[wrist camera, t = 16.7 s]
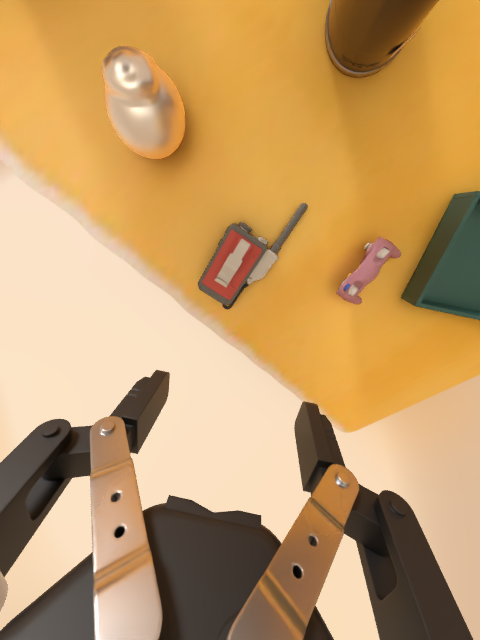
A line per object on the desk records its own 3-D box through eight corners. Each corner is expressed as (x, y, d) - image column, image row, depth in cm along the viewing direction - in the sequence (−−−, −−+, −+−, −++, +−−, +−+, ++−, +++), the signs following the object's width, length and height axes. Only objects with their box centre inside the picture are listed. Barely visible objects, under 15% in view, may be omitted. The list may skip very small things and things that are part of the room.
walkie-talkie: (238, 313, 41) (310, 208, 33) (235, 323, 37) (316, 207, 29) (196, 286, 40) (260, 172, 32) (188, 294, 36) (259, 165, 28)
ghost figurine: (203, 96, 30) (176, 41, 20) (184, 176, 33) (153, 159, 24) (137, 64, 29) (79, -7, 20) (125, 149, 33) (71, 122, 24)
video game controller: (374, 237, 36) (376, 228, 29) (403, 252, 34) (410, 246, 28) (334, 290, 39) (328, 292, 33) (358, 306, 38) (356, 311, 32)
